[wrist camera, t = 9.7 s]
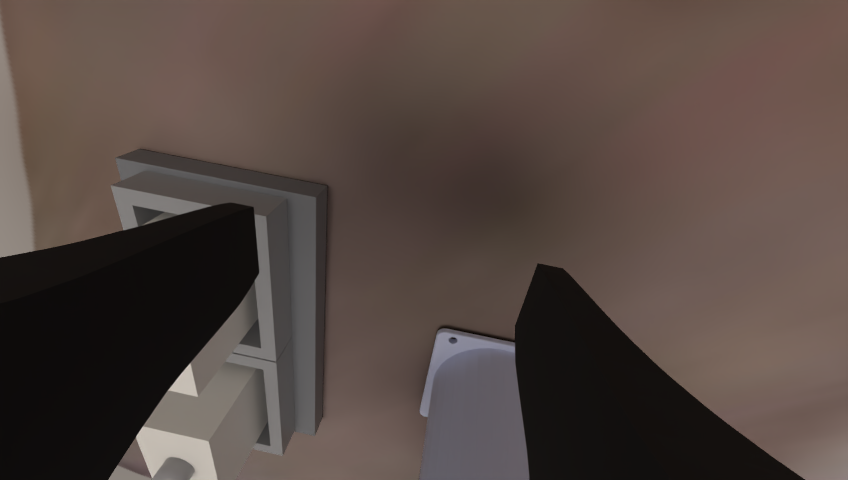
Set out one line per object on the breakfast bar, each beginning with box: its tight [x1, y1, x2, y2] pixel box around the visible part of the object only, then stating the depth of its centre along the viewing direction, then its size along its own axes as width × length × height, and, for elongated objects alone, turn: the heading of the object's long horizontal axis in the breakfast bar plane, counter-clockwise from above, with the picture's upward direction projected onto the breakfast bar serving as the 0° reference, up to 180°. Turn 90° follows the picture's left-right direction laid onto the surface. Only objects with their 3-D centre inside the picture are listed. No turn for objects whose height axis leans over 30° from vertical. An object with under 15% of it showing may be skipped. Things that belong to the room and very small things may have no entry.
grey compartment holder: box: [111, 149, 327, 480], centre depth 21 cm, size 10×19×8 cm, turn 171°
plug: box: [144, 212, 258, 397], centre depth 18 cm, size 4×6×7 cm, turn 171°
